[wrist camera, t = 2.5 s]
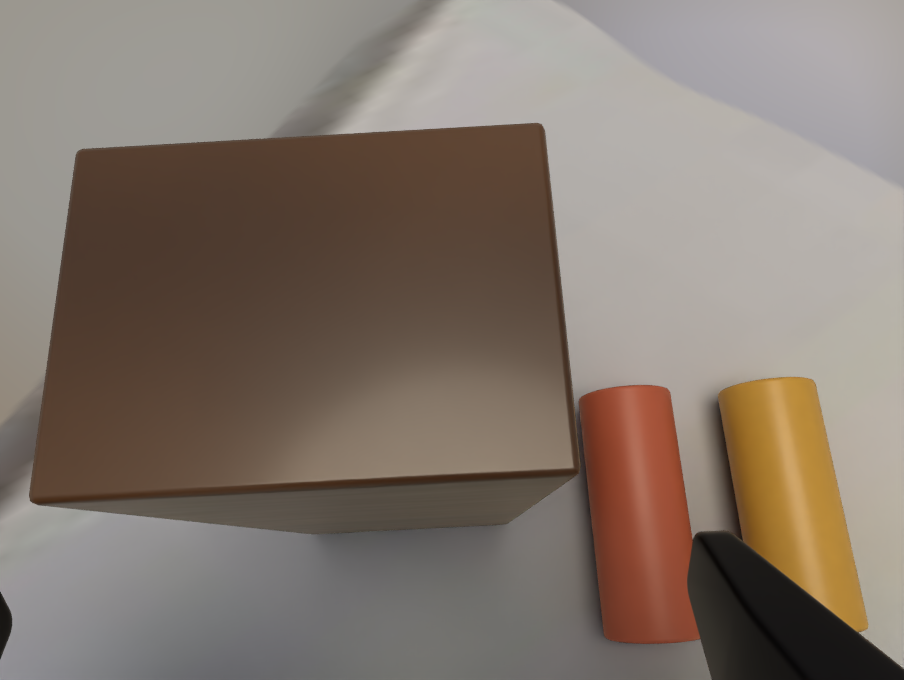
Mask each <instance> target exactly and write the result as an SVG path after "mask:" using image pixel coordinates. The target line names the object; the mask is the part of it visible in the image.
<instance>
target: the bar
mask: <svg viewBox="0 0 904 680" xmlns="http://www.w3.org/2000/svg"><path fill="white" fill-rule="evenodd" d="M580 468H581V463H580V454H579V445H578V435H577V426H576V416H575V407H574V398H573V388H572V379H571V370H570V360H569V351H568V342H567V332H566V323H565V314H564V304H563V295H562V286H561V276H560V267H559V258H558V248H557V239H556V229H555V220H554V211H553V201H552V192H551V183H550V173H549V164H548V155H547V145H546V136H545V130H544V128H543V126H542V124H539V123H528V124H511V125H494V126H476V127H459V128H441V129H424V130H406V131H389V132H371V133H354V134H337V135H319V136H302V137H284V138H267V139H249V140H232V141H216V142H197V143H180V144H162V145H145V146H127V147H110V148H92V149H82V150H79V151H78V152H77V154H76V158H75V165H74V172H73V180H72V187H71V194H70V202H69V209H68V216H67V223H66V230H65V238H64V245H63V252H62V260H61V267H60V274H59V282H58V290H57V296H56V304H55V311H54V318H53V326H52V333H51V340H50V347H49V354H48V361H47V369H46V376H45V383H44V390H43V398H42V405H41V412H40V419H39V427H38V434H37V441H36V449H35V456H34V463H33V470H32V478H31V485H30V492H29V497H30V501H31V502H32V503H34V504H37V505H41V506H51V507H60V508H70V509H79V510H89V511H98V512H107V513H117V514H126V515H136V516H145V517H155V518H164V519H173V520H183V521H192V522H202V523H211V524H220V525H230V526H239V527H249V528H258V529H268V530H277V531H286V532H296V533H305V534H332V533H351V532H370V531H389V530H408V529H427V528H446V527H465V526H484V525H503V524H508V523H509V522H511V521H512V520H513V519H515V518H516V517H518V516H519V515H521V514H522V513H523V512H525V511H526V510H528V509H529V508H531V507H532V506H533V505H535V504H536V503H538V502H539V501H540V500H542V499H543V498H545V497H546V496H548V495H549V494H550V493H552V492H553V491H555V490H556V489H558V488H559V487H560V486H562V485H563V484H565V483H566V482H568V481H569V480H570V479H572V478H573V477H575V476H576V475H578V474H579V471H580Z"/></svg>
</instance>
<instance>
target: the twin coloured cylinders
mask: <svg viewBox="0 0 904 680" xmlns="http://www.w3.org/2000/svg"><path fill="white" fill-rule="evenodd" d="M718 400H719V405H720V411H721V417H722V423H723V428H724V434H725V440H726V446H727V451H728V457H729V463H730V469H731V474H732V480H733V486H734V492H735V498H736V503H737V509H738V515H739V521H740V526H741V532H742V538H743V542H744V543H746V544H747V545H748V546H750V547H751V548H752V549H753V550H755V551H756V552H757V553H758V554H760V555H761V556H762V557H763V558H765V559H766V560H767V561H768V562H770V563H771V564H772V565H773V566H775V567H776V568H777V569H779V570H780V571H781V572H782V573H784V574H785V575H786V576H787V577H789V578H790V579H791V580H792V581H794V582H795V583H796V584H797V585H799V586H800V587H801V588H802V589H804V590H805V591H806V592H808V593H809V594H810V595H811V596H813V597H814V598H815V599H816V600H818V601H819V602H820V603H821V604H823V605H824V606H825V607H826V608H828V609H829V610H830V611H832V612H833V613H834V614H835V615H837V616H838V617H839V618H840V619H842V620H843V621H844V622H845V623H847V624H848V625H849V626H850V627H852V628H853V629H854V630H855V631H857V632H861V631H864V630H866V629H868V621H867V616H866V611H865V607H864V602H863V598H862V593H861V589H860V584H859V580H858V575H857V570H856V566H855V561H854V557H853V552H852V548H851V543H850V539H849V534H848V530H847V525H846V520H845V516H844V511H843V507H842V502H841V498H840V493H839V489H838V484H837V480H836V475H835V470H834V466H833V461H832V457H831V452H830V448H829V443H828V439H827V434H826V429H825V425H824V420H823V416H822V411H821V407H820V402H819V398H818V393H817V389H816V384H815V382H814V381H813V380H812V379H808V378H802V377H779V378H769V379H761V380H755V381H750V382H745V383H741V384H737V385H734V386H731V387H728V388H726V389H724V390H722V391H720V392H719V394H718ZM579 410H580V420H581V429H582V438H583V447H584V456H585V465H586V475H587V484H588V493H589V502H590V511H591V520H592V530H593V539H594V548H595V557H596V566H597V575H598V585H599V594H600V603H601V612H602V621H603V630H604V636H605V638H606V639H609V640H611V641H616V642H623V643H640V644H659V643H678V642H687V641H694V640H698V639H700V635H699V632H698V628H697V624H696V621H695V617H694V614H693V610H692V606H691V603H690V599H689V595H688V589H687V575H688V569H689V562H690V556H691V550H692V543H693V540H692V533H691V527H690V520H689V514H688V507H687V500H686V494H685V487H684V481H683V474H682V467H681V461H680V454H679V448H678V441H677V435H676V428H675V421H674V415H673V408H672V402H671V395H670V391H669V390H668V389H667V388H664V387H660V386H653V385H630V386H619V387H612V388H606V389H602V390H597V391H594V392H591V393H588V394H586V395H584V396H582V397H581V398H580V399H579Z"/></svg>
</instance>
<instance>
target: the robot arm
mask: <svg viewBox="0 0 904 680" xmlns="http://www.w3.org/2000/svg"><path fill="white" fill-rule="evenodd" d="M687 589H688V595H689V599H690V603H691V606H692V610H693V614H694V617H695V621H696V624H697V628H698V632H699V635H700V639H701V642H702V646H703V650H704V653H705V657H706V660H707V664H708V668H709V671H710V675H711V678H712V680H904V669H903V668H902V667H901V666H900V665H898V664H897V663H896V662H895V661H893V660H892V659H891V658H890V657H888V656H887V655H886V654H885V653H883V652H882V651H881V650H879V649H878V648H877V647H876V646H874V645H873V644H872V643H871V642H869V641H868V640H867V639H866V638H864V637H863V636H862V635H861V634H859V633H858V632H857V631H855V630H854V629H853V628H852V627H850V626H849V625H848V624H847V623H845V622H844V621H843V620H842V619H840V618H839V617H838V616H837V615H835V614H834V613H833V612H832V611H830V610H829V609H828V608H826V607H825V606H824V605H823V604H821V603H820V602H819V601H818V600H816V599H815V598H814V597H813V596H811V595H810V594H809V593H808V592H806V591H805V590H804V589H802V588H801V587H800V586H799V585H797V584H796V583H795V582H794V581H792V580H791V579H790V578H789V577H787V576H786V575H785V574H784V573H782V572H781V571H780V570H779V569H777V568H776V567H775V566H773V565H772V564H771V563H770V562H768V561H767V560H766V559H765V558H763V557H762V556H761V555H760V554H758V553H757V552H756V551H755V550H753V549H752V548H751V547H750V546H748V545H747V544H746V543H744V542H743V541H742V540H741V539H739V538H738V537H737V536H736V535H734V534H733V533H731V532H729V531H724V530H723V531H704V532H699V533H697V534H696V535H695V537H694V539H693V543H692V550H691V556H690V562H689V569H688V575H687ZM11 628H12V615H11V612H10V609H9V607H8V606H7V604H6V602H5V600H4V598H3V596H2V594H1V592H0V659H1V656H2V654H3V651H4V648H5V646H6V643H7V641H8V638H9V636H10V633H11Z"/></svg>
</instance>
